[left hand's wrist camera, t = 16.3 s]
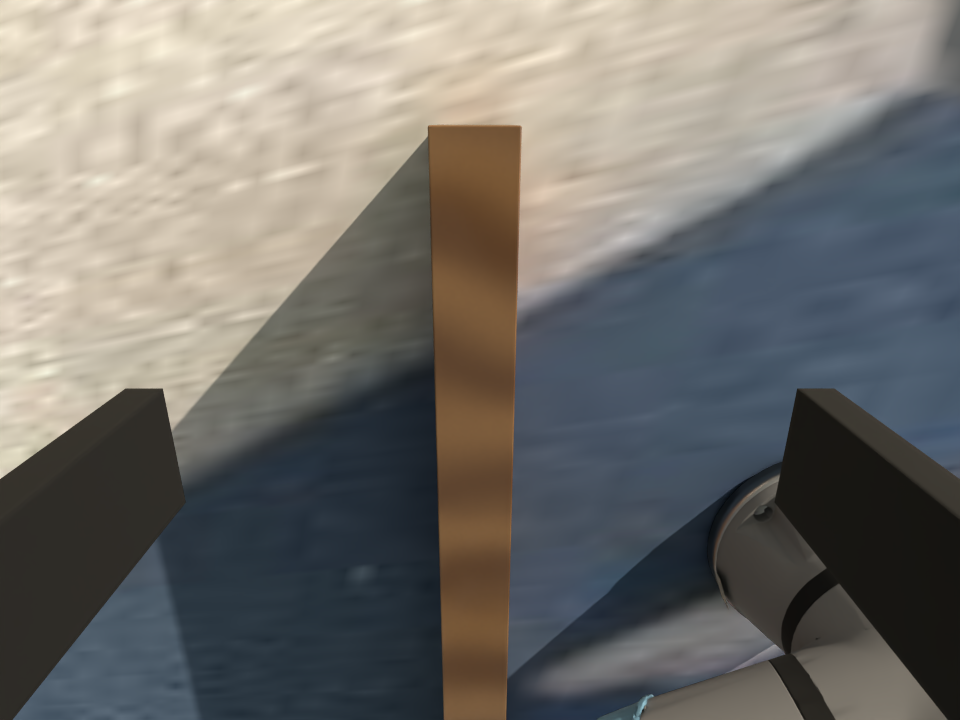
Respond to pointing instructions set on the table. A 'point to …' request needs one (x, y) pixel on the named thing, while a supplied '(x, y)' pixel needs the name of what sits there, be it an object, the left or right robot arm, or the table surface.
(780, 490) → the left robot arm
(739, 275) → the table surface
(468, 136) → the beam
